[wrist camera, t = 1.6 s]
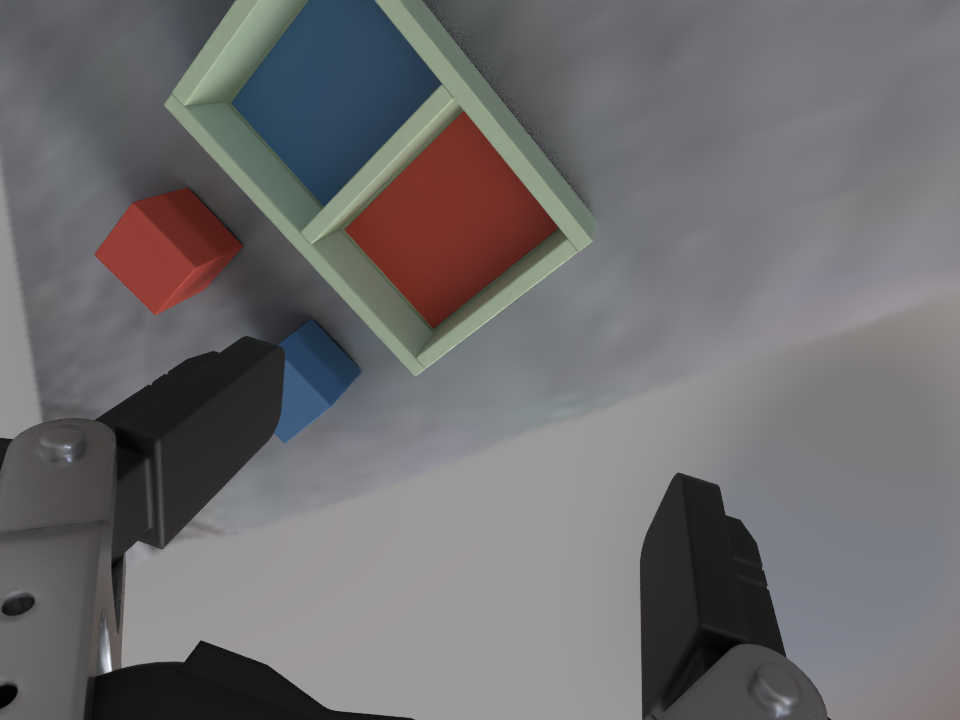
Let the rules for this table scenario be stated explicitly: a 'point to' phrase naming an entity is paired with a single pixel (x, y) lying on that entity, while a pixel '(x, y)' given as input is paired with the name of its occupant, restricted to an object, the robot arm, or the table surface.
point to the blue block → (311, 378)
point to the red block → (167, 249)
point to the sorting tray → (382, 163)
